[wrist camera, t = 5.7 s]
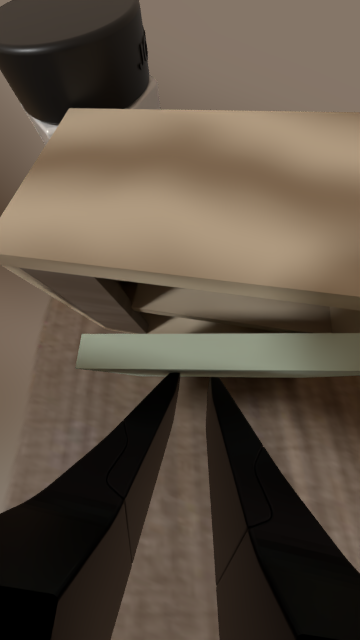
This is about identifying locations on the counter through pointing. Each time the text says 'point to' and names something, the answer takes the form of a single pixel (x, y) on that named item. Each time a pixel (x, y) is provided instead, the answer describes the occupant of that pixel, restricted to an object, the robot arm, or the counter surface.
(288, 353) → the door
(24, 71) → the jar
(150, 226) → the cabinet
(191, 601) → the counter surface
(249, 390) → the counter surface
